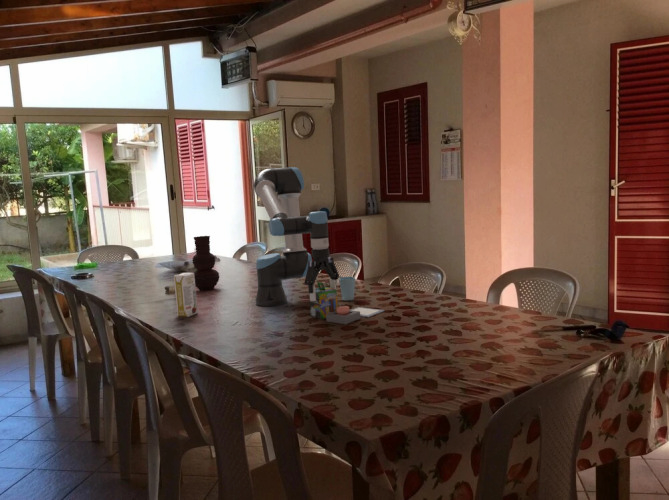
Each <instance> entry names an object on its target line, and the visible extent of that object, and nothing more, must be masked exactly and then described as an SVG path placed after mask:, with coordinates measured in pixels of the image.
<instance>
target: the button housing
mask: <svg viewBox="0 0 669 500" xmlns="http://www.w3.org/2000/svg"><path fill="white" fill-rule="evenodd" d="M325 319H326V320H325V321H326V322H327V323H335V324H340V325H341V324H342V325H348V324H350V323H353V322H356V321H358V320H361V316H360V312H359V311H352V309H349V314H347V315H338V314H337V311H334V312H331V313H328V314H326V318H325Z"/></svg>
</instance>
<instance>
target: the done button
mask: <svg viewBox="0 0 669 500" xmlns="http://www.w3.org/2000/svg"><path fill="white" fill-rule="evenodd" d="M336 308H337V314H338V315H347V314H349V310H350V306H349V305H338V307H336Z"/></svg>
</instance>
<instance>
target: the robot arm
mask: <svg viewBox="0 0 669 500" xmlns="http://www.w3.org/2000/svg"><path fill="white" fill-rule="evenodd" d="M304 188H305V180H304V176H303V174H302V171H301V170H300V169H299V168H298V167H296V166H295V167H294V166H293V167H291V166H290V167H289V166H288V167H276V168H275V167H274V168H272V167H270V168H266V169H263V170H261V171H260V172H259V173H257V175H256V177H255V179H254V182H253V190H254V192H255V194H256V196H257V197H258V198H260V200H261V202H262V204H263V206H264V209H265V211H266V212H267V215H268V217H269V221H268V230H269V234H270V235H271V236H272V237H273V236H274V237H282V236H284V242H285V243H284V245H285V249H284V250H283V251H282V253H283V255H281V254H280V253H278V252H275V253H267V254H264V255H261V256H259V257H258V258H256V263H255V264H256V266H255V268H256V276H257V277H256V278H257V292H256V297H255V298H254V299H255V305H257V306H260V307H272V306H279V305H280V306H281V305H284V304H286V303H287V302H288V297H287V295H286V293H285V290H284V287H283V281H284V280H291V279H293V280H294V279H302V278H305V279H304V282H303V283H304V285H306V286H308V294H309V293H310V300H311V301H316V292H315V289H316V285H315V282H316V279H317V277H318V275H319V273H320V272H321V271H323V270H324V271H325V272H326V274H327V275H328V277H329V278H330V279H329V288H332V289H336V290H337V280H338V279H339V278H340V274H339V272H338V269H337V267H336V265H335V261H334V257H332V256H330V248H329V247H330V243H329V226H328V221H329V219H328V213H327V212H326V211H322V210H320V211H311V212H309V214H307V215H302V216H301V212H300V203H299V198H300V196H301V194H302V191H303V190H304ZM303 234H310V248H312V249H311V251H310V252H311V253H309V252H308V250H307V248H306V247H304V240H303ZM312 258H313V259H312ZM310 300H309V301H310Z"/></svg>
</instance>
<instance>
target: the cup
mask: <svg viewBox="0 0 669 500" xmlns="http://www.w3.org/2000/svg"><path fill="white" fill-rule="evenodd" d="M338 279H339V280H338V281H339V286H340V293H341V298H342V299H341V300H342V301H345V302H346V301H348V302H349V301H353V300H354V299H355V285H356V277H355V276H342V277H341V276H340V277H338Z"/></svg>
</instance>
